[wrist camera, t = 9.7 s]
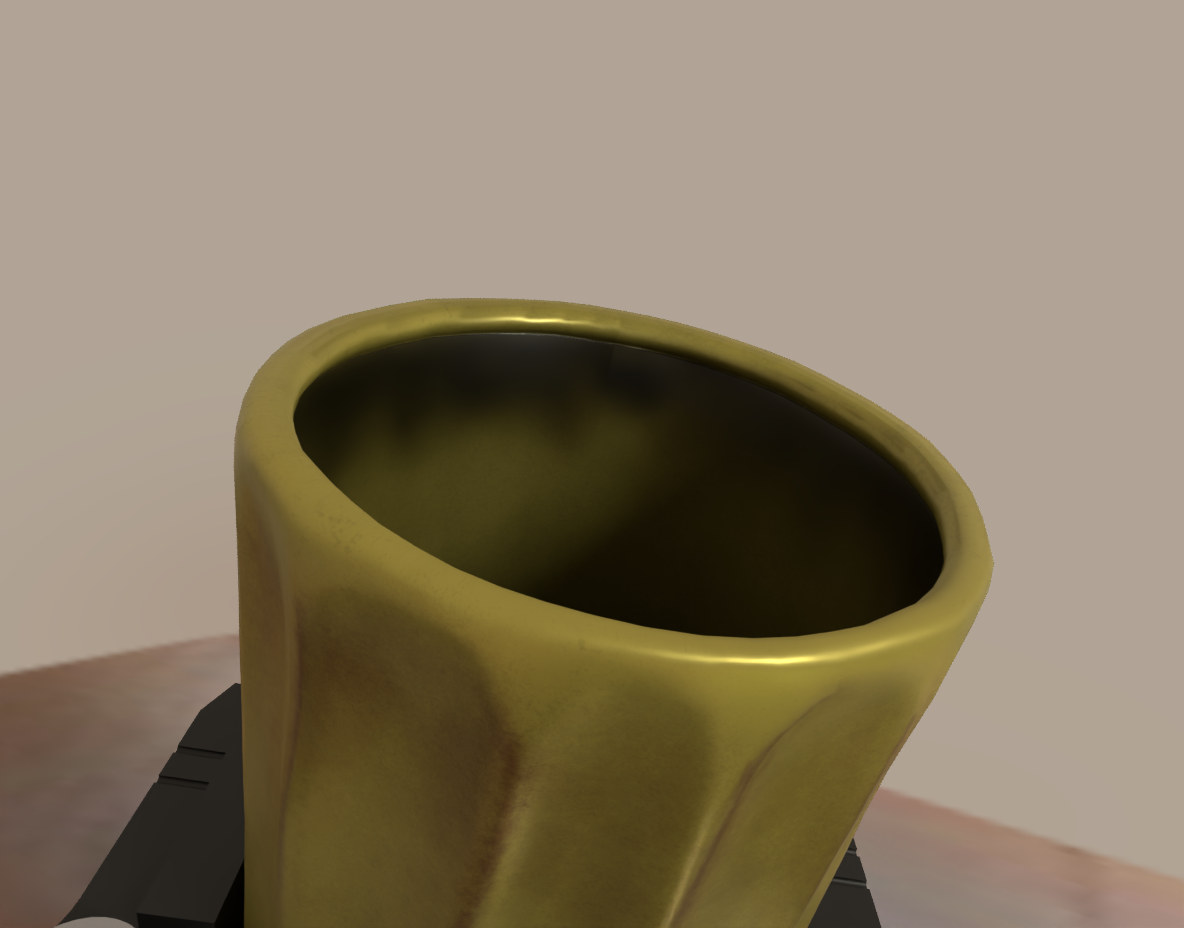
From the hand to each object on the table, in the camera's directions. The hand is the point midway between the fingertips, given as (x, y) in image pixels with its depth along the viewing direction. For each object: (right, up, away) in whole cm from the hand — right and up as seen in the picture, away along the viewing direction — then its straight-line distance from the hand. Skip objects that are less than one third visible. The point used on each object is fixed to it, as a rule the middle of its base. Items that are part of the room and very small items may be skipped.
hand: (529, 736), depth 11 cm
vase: (-2, -8, +2) cm, 9 cm away
